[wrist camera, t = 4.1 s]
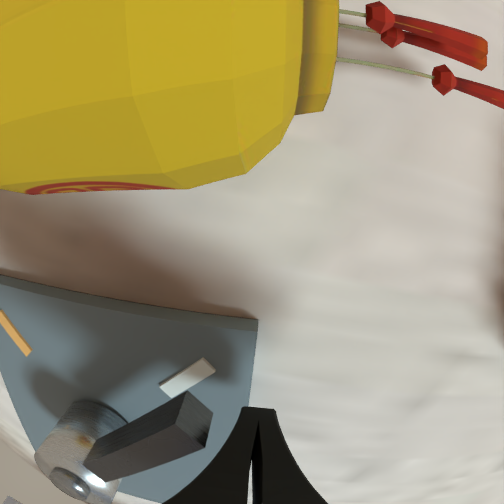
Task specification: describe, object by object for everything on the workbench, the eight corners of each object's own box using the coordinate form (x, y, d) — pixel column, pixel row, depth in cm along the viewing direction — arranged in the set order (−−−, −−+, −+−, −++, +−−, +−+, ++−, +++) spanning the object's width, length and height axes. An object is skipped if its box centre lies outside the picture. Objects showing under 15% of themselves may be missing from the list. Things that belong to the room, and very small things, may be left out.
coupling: (111, 460, 17) (84, 514, 12) (57, 414, 16) (20, 464, 11) (246, 397, 15) (235, 481, 10) (174, 327, 14) (131, 402, 9)
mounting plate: (234, 504, 20) (233, 517, 18) (45, 451, 20) (38, 460, 19) (258, 319, 15) (257, 334, 14) (-12, 271, 16) (-26, 277, 14)
